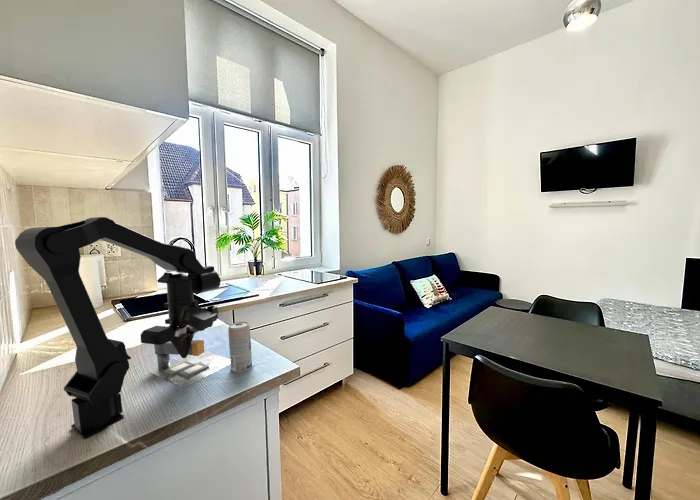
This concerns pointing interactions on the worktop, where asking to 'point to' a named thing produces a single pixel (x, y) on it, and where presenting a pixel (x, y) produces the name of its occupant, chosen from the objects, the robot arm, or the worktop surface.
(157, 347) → the swing arm
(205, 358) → the plate
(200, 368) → the label tile
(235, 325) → the energy drink
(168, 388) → the worktop surface
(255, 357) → the worktop surface
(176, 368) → the label tile
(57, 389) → the worktop surface
